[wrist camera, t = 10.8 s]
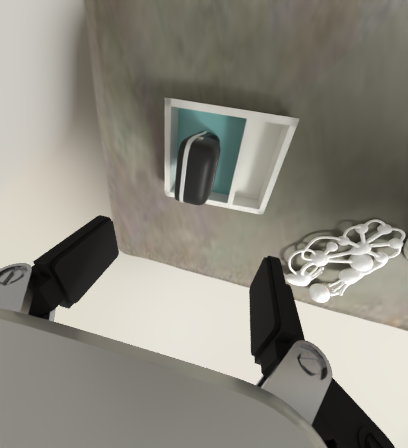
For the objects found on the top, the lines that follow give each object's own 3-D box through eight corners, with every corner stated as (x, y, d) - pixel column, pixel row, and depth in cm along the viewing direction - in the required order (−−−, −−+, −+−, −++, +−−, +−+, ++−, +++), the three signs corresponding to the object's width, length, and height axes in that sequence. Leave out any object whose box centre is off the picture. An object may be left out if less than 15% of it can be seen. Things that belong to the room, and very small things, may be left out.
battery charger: (216, 180, 29) (204, 214, 19) (194, 175, 29) (172, 206, 19) (227, 134, 25) (218, 148, 15) (201, 128, 25) (177, 139, 15)
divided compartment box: (291, 117, 23) (299, 118, 20) (260, 203, 30) (262, 215, 27) (175, 99, 24) (164, 97, 21) (172, 186, 31) (164, 195, 28)
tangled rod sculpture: (359, 195, 28) (375, 205, 25) (417, 246, 30) (440, 262, 26) (270, 260, 38) (272, 274, 35) (317, 295, 40) (324, 312, 36)
